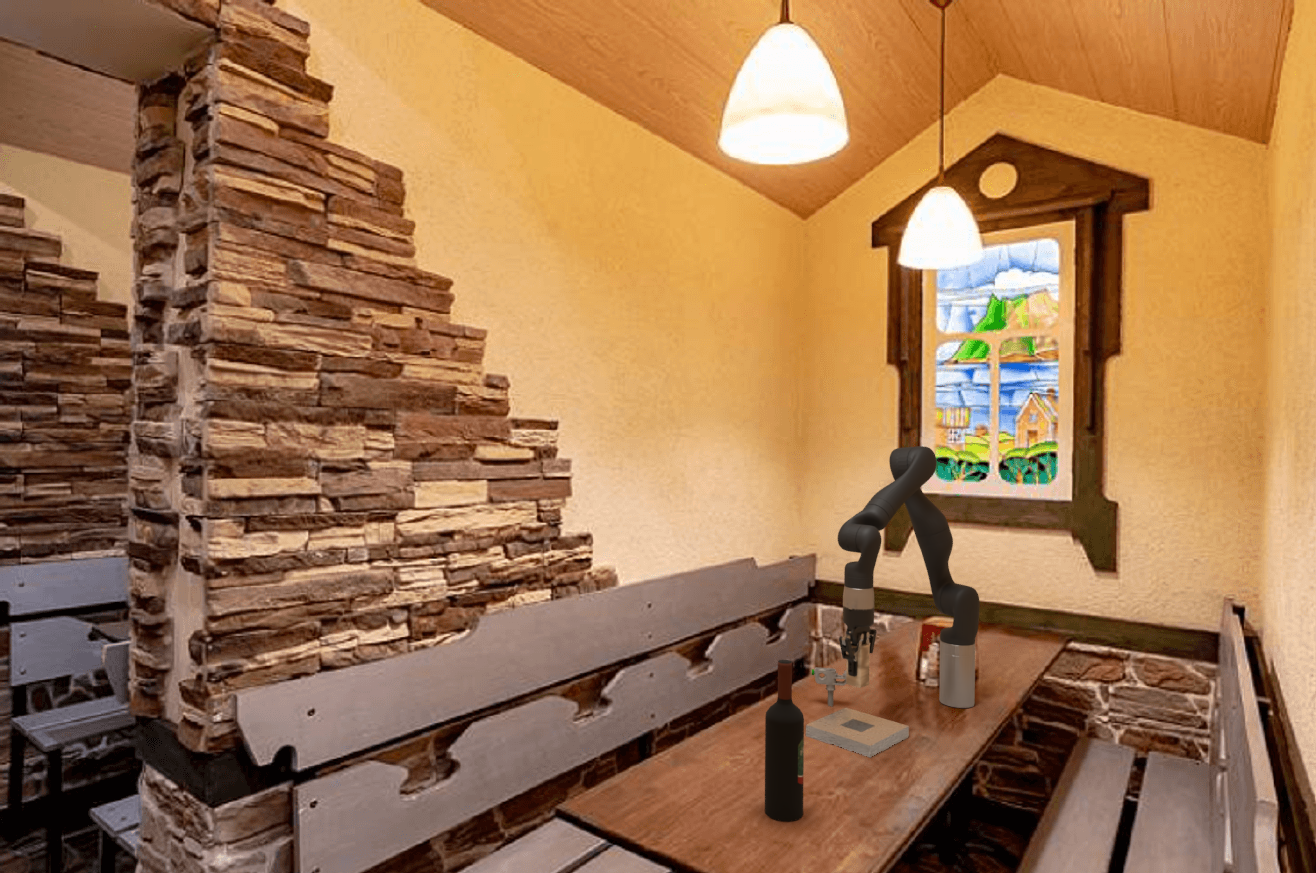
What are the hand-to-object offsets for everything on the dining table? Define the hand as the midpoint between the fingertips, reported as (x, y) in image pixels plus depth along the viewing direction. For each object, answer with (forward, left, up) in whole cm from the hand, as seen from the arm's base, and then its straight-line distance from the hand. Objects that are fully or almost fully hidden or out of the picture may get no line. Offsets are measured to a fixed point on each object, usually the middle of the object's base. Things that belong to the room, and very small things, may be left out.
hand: (857, 673), depth 196 cm
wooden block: (0, 0, -3) cm, 3 cm away
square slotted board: (0, 0, -16) cm, 16 cm away
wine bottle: (+45, +11, -16) cm, 49 cm away
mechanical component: (-14, -17, -16) cm, 27 cm away
